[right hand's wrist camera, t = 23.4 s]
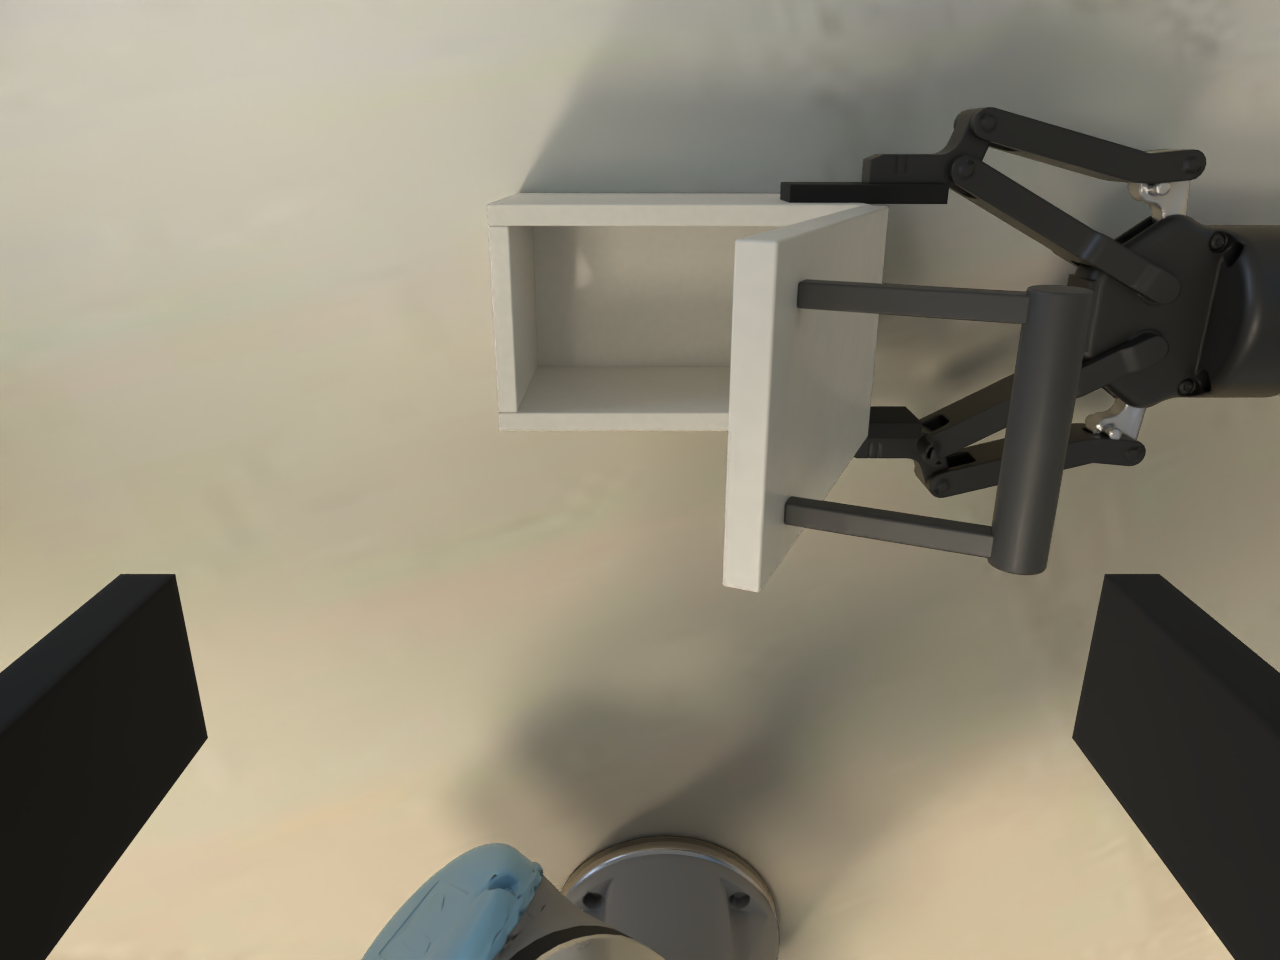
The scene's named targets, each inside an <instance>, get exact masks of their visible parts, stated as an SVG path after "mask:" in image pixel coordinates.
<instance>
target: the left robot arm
mask: <svg viewBox="0 0 1280 960" xmlns="http://www.w3.org/2000/svg"><path fill="white" fill-rule="evenodd" d="M988 147H991V148H994V149H998V150H1001V151H1005V152H1008V153H1012V154H1015V155H1019V156H1022V157H1026V158H1029V159H1033V160H1036V161H1040V162H1043V163H1047V164H1050V165H1053V166H1057V167H1060V168H1064V169H1067V170H1071V171H1074V172H1078V173H1081V174H1085V175H1088V176H1092V177H1095V178H1099V179H1103V180H1108V181H1117V182H1129V184H1128V190H1129V193H1130V195H1131V197H1132V198H1133V199H1135V200H1137V201H1142V202H1145V203H1147V204H1148V205H1149V206H1150V209H1151V216H1150V217H1148V218H1146V219H1145V220H1143V221H1142V222H1140V223H1138V224H1137V225H1135V226H1134V227H1132V228H1131V229H1129V230H1128V231H1126V232H1125V233H1123V234H1122V235H1120V236H1119V237H1117V238H1116V239H1114V240H1113V239H1111V238H1110V237H1108V236H1106V235H1104V234H1101V233H1099V232H1097V231H1095V230H1093V229H1091V228H1090V227H1088V226H1086V225H1085V224H1083V223H1081V222H1080V221H1078V220H1077V219H1075V218H1073V217H1072V216H1070V215H1068V214H1067V213H1065V212H1064V211H1062V210H1060V209H1059V208H1057V207H1055V206H1054V205H1052V204H1051V203H1049V202H1047V201H1046V200H1044V199H1042V198H1041V197H1039V196H1038V195H1036V194H1034V193H1033V192H1031V191H1029V190H1028V189H1026V188H1025V187H1023V186H1021V185H1020V184H1018V183H1016V182H1015V181H1013V180H1012V179H1010V178H1008V177H1007V176H1005V175H1003V174H1002V173H1000V172H999V171H997V170H995V169H994V168H992V167H990V166H989V165H987V164H986V163H984V162H982V160H983V158H984V155H985V153H986V151H987V149H988ZM1205 166H1206V157H1205V156H1204V154H1203V153H1202V152H1201V151H1199V150H1177V149H1160V150H1150V151H1140V150H1137V149H1134V148H1130V147H1127V146H1123V145H1120V144H1117V143H1113V142H1110V141H1106V140H1103V139H1099V138H1096V137H1093V136H1089V135H1086V134H1082V133H1079V132H1075V131H1072V130H1069V129H1065V128H1062V127H1058V126H1055V125H1052V124H1048V123H1045V122H1041V121H1038V120H1034V119H1031V118H1028V117H1024V116H1021V115H1017V114H1014V113H1010V112H1007V111H1004V110H1000V109H997V108H991V107H987V108H978V109H969V110H965V111H963V112H961V113H960V114H959V115H958V116H957V118H956V119H955V122H954V131H953V134H952V136H951V138H950V140H949V142H948V144H947V146H946V147H945V148H944V149H943V150H941V151H940V152H938V153H935V154H875V155H873V156H870V157H868V158H865V159H863V171H862V182H781V190H780V200H783V201H786V202H789V203H865V204H947V200H948V191H949V188H950V189H952V190H953V191H955V192H956V193H958V194H960V195H961V196H963V197H965V198H966V199H968V200H970V201H971V202H973V203H975V204H976V205H978V206H980V207H981V208H983V209H985V210H986V211H988V212H990V213H991V214H993V215H995V216H996V217H998V218H999V219H1001V220H1003V221H1004V222H1006V223H1008V224H1009V225H1011V226H1013V227H1014V228H1016V229H1018V230H1019V231H1021V232H1023V233H1024V234H1026V235H1028V236H1029V237H1031V238H1033V239H1034V240H1036V241H1038V242H1039V243H1041V244H1042V245H1044V246H1046V247H1047V248H1049V249H1051V250H1052V251H1053V252H1054V253H1055V254H1056V255H1058V256H1060V257H1061V258H1063V259H1064V260H1066V261H1068V262H1069V263H1071V264H1073V265H1074V266H1076V267H1078V268H1077V270H1076V272H1075V274H1069V278H1068V284H1067V286H1074V287H1081V288H1086V289H1090V290H1092V291H1093V292H1094V297H1093V303H1092V309H1091V314H1090V320H1089V326H1088V331H1087V337H1086V343H1085V349H1084V354H1083V360H1082V366H1081V371H1080V377H1079V383H1078V389H1077V394H1076V398H1079V397H1082V396H1084V395H1086V394H1088V393H1090V392H1093V391H1095V390H1097V389H1099V388H1101V387H1102V388H1103V389H1104V390H1105V391H1107V392H1108V393H1109V394H1110V395H1112V396H1113V397H1114V398H1116V400H1115V403H1114V405H1113V406H1112V407H1111V408H1110V409H1108V410H1107V411H1104V412H1099V413H1095V414H1091V415H1089V416H1087V417H1086V419H1085V423H1086V424H1082V423H1074V424H1071V429H1070V434H1069V440H1068V446H1067V451H1066V457H1065V463H1064V469H1068V468H1073V467H1077V466H1081V465H1086V464H1090V463H1101V464H1112V465H1123V466H1134V465H1136V464H1138V463H1140V462H1141V461H1142V460H1143V458H1144V456H1145V452H1146V450H1145V447H1144V445H1143V444H1142V443H1141V442H1139V441H1137V436H1138V433H1139V430H1140V426H1141V423H1142V420H1143V416H1144V413H1145V410H1146V408H1147V407H1151V406H1154V405H1156V404H1158V403H1160V402H1162V401H1164V400H1167V399H1170V398H1175V397H1271V396H1275V395H1279V396H1280V225H1202V224H1200V223H1198V222H1196V221H1195V220H1193V219H1192V218H1190V217H1188V216H1186V211H1187V202H1188V193H1189V184H1190V180H1193V179H1196V178H1197V177H1199V176H1200V175H1201V174H1202V172H1203V171H1204V169H1205ZM1014 374H1015V373H1014ZM1014 374H1012V375H1010V376H1008V377H1006V378H1004V379H1002V380H1000V381H998V382H996V383H994V384H992V385H990V386H987V387H985V388H983V389H981V390H979V391H977V392H975V393H973V394H971V395H969V396H967V397H965V398H963V399H961V400H959V401H957V402H955V403H953V404H951V405H949V406H947V407H944V408H942V409H940V410H938V411H936V412H934V413H932V414H930V415H928V416H926V417H924V418H922V419H920V420H919V419H918V418H917V417H916V416H914V415H913V414H912V413H911V412H910V411H909V410H908V409H907V408H906V407H870V416H869V427H868V436H867V438H866V439H865V441H864V442H863V443H862V445H861V446H860V448H859V449H858V451H857V452H856V454H855V455H854V456H853V457H855V458H910V459H913V461H914V464H915V470H914V472H915V474H916V476H917V477H918V478H919V480H920V481H921V482H922V483H923V484H924V485H925V487H926V488H927V489H928V490H929V491H930V493H931V494H932V495H933V496H935V497H938V498H944V497H949V496H953V495H957V494H962V493H966V492H970V491H974V490H979V489H983V488H987V487H991V486H996V485H998V481H999V474H1000V468H1001V461H1002V454H1003V448H1004V441H1005V438H1004V439H1000V440H995V441H991V442H987V443H983V444H979V445H974V446H970V447H966V446H968V445H971V444H973V443H975V442H977V441H979V440H981V439H983V438H985V437H987V436H989V435H991V434H993V433H996V432H998V431H1000V430H1002V429H1004V428H1006V427H1007V421H1008V414H1009V407H1010V401H1011V394H1012V387H1013V381H1014ZM964 447H966V448H964ZM1064 469H1063V470H1064ZM778 952H779V929H778V922H777V917H776V911H775V906H774V902H773V899H772V897H771V894H770V892H769V890H768V888H767V886H766V884H765V883H764V881H763V880H762V878H761V877H760V876H759V875H758V874H757V872H756V871H755V870H754V869H753V868H752V867H751V866H750V865H748V864H747V863H746V862H745V861H743V860H742V859H741V858H739V857H738V856H736V855H735V854H733V853H731V852H730V851H728V850H726V849H723V848H721V847H719V846H716V845H714V844H711V843H708V842H705V841H701V840H697V839H692V838H686V837H678V836H654V837H645V838H639V839H634V840H630V841H627V842H623V843H620V844H617V845H615V846H612V847H610V848H608V849H606V850H604V851H602V852H600V853H598V854H596V855H595V856H593V857H592V858H590V859H589V860H588V861H586V862H585V863H584V864H582V865H581V866H580V867H579V868H578V869H577V870H576V871H575V872H574V873H573V874H572V875H571V876H570V878H569V879H568V881H567V882H566V883H565V885H564V887H563V888H562V890H561V892H560V891H558V890H557V889H556V887H555V886H554V885H553V884H552V883H551V882H550V881H549V880H548V879H547V878H546V877H545V876H544V875H543V868H542V867H541V866H540V865H539V864H538V863H536V862H531V861H530V860H529V859H527V858H526V857H525V856H524V855H522V854H521V853H520V852H519V851H518V850H516V849H515V848H513V847H512V846H509V845H507V844H501V843H491V844H486V845H482V846H479V847H476V848H474V849H472V850H470V851H468V852H466V853H464V854H462V855H460V856H459V857H457V858H456V859H454V860H453V861H451V862H450V863H449V864H447V865H446V866H445V867H444V868H442V869H441V870H439V871H438V872H437V873H436V874H434V875H433V876H432V877H431V878H430V879H429V880H428V881H426V882H425V883H424V884H423V885H422V886H421V887H420V888H419V889H418V890H417V891H416V892H415V893H414V894H413V895H412V896H411V897H410V898H409V899H408V900H407V901H406V903H405V904H404V905H403V906H402V907H401V908H400V909H399V910H398V911H397V913H396V914H395V915H394V916H393V917H392V919H391V920H390V921H389V922H388V923H387V925H386V926H385V927H384V928H383V930H382V931H381V932H380V934H379V935H378V936H377V938H376V939H375V940H374V942H373V943H372V945H371V946H370V948H369V949H368V950H367V952H366V953H365V955H364V957H363V958H362V960H777V959H778Z"/></svg>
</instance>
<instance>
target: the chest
mask: <svg viewBox="0 0 1280 960" xmlns="http://www.w3.org/2000/svg"><path fill="white" fill-rule="evenodd" d="M862 205H869V204H865V203H789V202H786V201H783V200H780V193H517V194H514V195H511V196H509V197H506V198H503V199H501V200H498V201H495V202H492V203H490V204H487V218H488V225H489V227H488V234H489V252H490V270H491V288H492V306H493V324H494V342H495V360H496V379H497V397H498V411H499V414H498V416H499V430H500V431H728V421H729V394H730V367H731V340H732V313H733V286H734V259H735V241H736V240H737V239H740V238H744V237H747V236H751V235H755V234H758V233H762V232H766V231H769V230H773V229H777V228H781V227H784V226H788V225H792V224H795V223H799V222H803V221H806V220H810V219H814V218H818V217H821V216H825V215H829V214H832V213H836V212H840V211H843V210H847V209H851V208H855V207H858V206H862Z"/></svg>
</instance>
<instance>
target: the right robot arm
mask: <svg viewBox="0 0 1280 960" xmlns="http://www.w3.org/2000/svg"><path fill="white" fill-rule="evenodd" d="M207 738H208V736H207V731H206V726H205V721H204V716H203V711H202V706H201V701H200V696H199V691H198V686H197V681H196V676H195V671H194V666H193V661H192V656H191V651H190V646H189V641H188V636H187V631H186V626H185V621H184V616H183V611H182V606H181V601H180V596H179V591H178V586H177V581H176V576H175V574H120V575H119V576H118V577H117V578H116V579H114V580H113V581H112V582H111V583H109V584H108V585H107V586H106V587H105V588H103V589H102V590H101V591H100V592H98V593H97V594H96V595H95V596H94V597H92V598H91V599H90V600H89V601H87V602H86V603H85V604H84V605H83V606H81V607H80V608H79V609H78V610H77V611H75V612H74V613H73V614H72V615H70V616H69V617H68V618H67V619H66V620H64V621H63V622H62V623H61V624H59V625H58V626H57V627H56V628H55V629H53V630H52V631H51V632H50V633H48V634H47V635H46V636H45V637H44V638H42V639H41V640H40V641H39V642H37V643H36V644H35V645H34V646H33V647H31V648H30V649H29V650H28V651H27V652H25V653H24V654H23V655H22V656H20V657H19V658H18V659H17V660H16V661H14V662H13V663H12V664H11V665H9V666H8V667H7V668H6V669H5V670H3V671H2V672H1V673H0V960H45V959H46V958H47V956H48V955H49V954H50V952H51V951H52V950H53V948H54V947H55V946H56V944H57V943H58V941H59V940H60V939H61V937H62V936H63V935H64V933H65V932H66V931H67V929H68V928H69V926H70V925H71V924H72V922H73V921H74V920H75V918H76V917H77V916H78V914H79V913H80V911H81V910H82V909H83V907H84V906H85V905H86V903H87V902H88V901H89V899H90V898H91V896H92V895H93V894H94V892H95V891H96V890H97V888H98V887H99V886H100V884H101V883H102V881H103V880H104V879H105V877H106V876H107V875H108V873H109V872H110V871H111V869H112V868H113V866H114V865H115V864H116V862H117V861H118V860H119V858H120V857H121V856H122V854H123V853H124V851H125V850H126V849H127V847H128V846H129V845H130V843H131V842H132V841H133V839H134V838H135V836H136V835H137V834H138V832H139V831H140V830H141V828H142V827H143V826H144V824H145V823H146V821H147V820H148V819H149V817H150V816H151V815H152V813H153V812H154V811H155V809H156V808H157V806H158V805H159V804H160V802H161V801H162V800H163V798H164V797H165V796H166V794H167V793H168V791H169V790H170V789H171V787H172V786H173V785H174V783H175V782H176V780H177V779H178V778H179V776H180V775H181V774H182V772H183V771H184V770H185V768H186V767H187V765H188V764H189V763H190V761H191V760H192V759H193V757H194V756H195V755H196V753H197V752H198V750H199V749H200V748H201V746H202V745H203V744H204V742H205V741H206V740H207ZM1072 738H1073V740H1074V741H1075V742H1076V744H1077V745H1078V746H1079V748H1080V749H1081V750H1082V752H1083V753H1084V755H1085V756H1086V757H1087V759H1088V760H1089V761H1090V763H1091V764H1092V765H1093V767H1094V768H1095V770H1096V771H1097V772H1098V774H1099V775H1100V776H1101V778H1102V779H1103V781H1104V782H1105V783H1106V785H1107V786H1108V787H1109V789H1110V790H1111V791H1112V793H1113V794H1114V796H1115V797H1116V798H1117V800H1118V801H1119V802H1120V804H1121V805H1122V806H1123V808H1124V809H1125V811H1126V812H1127V813H1128V815H1129V816H1130V817H1131V819H1132V820H1133V821H1134V823H1135V824H1136V826H1137V827H1138V828H1139V830H1140V831H1141V832H1142V834H1143V835H1144V836H1145V838H1146V839H1147V841H1148V842H1149V843H1150V845H1151V846H1152V847H1153V849H1154V850H1155V851H1156V853H1157V854H1158V856H1159V857H1160V858H1161V860H1162V861H1163V862H1164V864H1165V865H1166V866H1167V868H1168V869H1169V871H1170V872H1171V873H1172V875H1173V876H1174V877H1175V879H1176V880H1177V881H1178V883H1179V884H1180V886H1181V887H1182V888H1183V890H1184V891H1185V892H1186V894H1187V895H1188V896H1189V898H1190V899H1191V901H1192V902H1193V903H1194V905H1195V906H1196V907H1197V909H1198V910H1199V911H1200V913H1201V914H1202V916H1203V917H1204V918H1205V920H1206V921H1207V922H1208V924H1209V925H1210V926H1211V928H1212V929H1213V931H1214V932H1215V933H1216V935H1217V936H1218V937H1219V939H1220V940H1221V941H1222V943H1223V944H1224V946H1225V947H1226V948H1227V950H1228V951H1229V952H1230V954H1231V955H1232V956H1233V958H1234V959H1235V960H1280V673H1279V672H1278V671H1277V670H1275V669H1274V668H1273V667H1272V666H1271V665H1269V664H1268V663H1267V662H1266V661H1264V660H1263V659H1262V658H1261V657H1260V656H1258V655H1257V654H1256V653H1255V652H1253V651H1252V650H1251V649H1250V648H1249V647H1247V646H1246V645H1245V644H1244V643H1243V642H1241V641H1240V640H1239V639H1238V638H1236V637H1235V636H1234V635H1233V634H1232V633H1230V632H1229V631H1228V630H1227V629H1225V628H1224V627H1223V626H1222V625H1221V624H1219V623H1218V622H1217V621H1216V620H1214V619H1213V618H1212V617H1211V616H1210V615H1208V614H1207V613H1206V612H1205V611H1203V610H1202V609H1201V608H1200V607H1199V606H1197V605H1196V604H1195V603H1194V602H1193V601H1191V600H1190V599H1189V598H1188V597H1186V596H1185V595H1184V594H1183V593H1182V592H1180V591H1179V590H1178V589H1177V588H1175V587H1174V586H1173V585H1172V584H1171V583H1169V582H1168V581H1167V580H1166V579H1164V578H1163V577H1162V576H1161V575H1160V574H1105V576H1104V581H1103V586H1102V591H1101V596H1100V601H1099V606H1098V611H1097V616H1096V621H1095V626H1094V631H1093V636H1092V641H1091V646H1090V651H1089V656H1088V661H1087V666H1086V671H1085V676H1084V681H1083V686H1082V691H1081V696H1080V701H1079V706H1078V711H1077V716H1076V721H1075V726H1074V731H1073V736H1072Z"/></svg>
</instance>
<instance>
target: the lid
mask: <svg viewBox="0 0 1280 960" xmlns="http://www.w3.org/2000/svg"><path fill="white" fill-rule="evenodd" d="M888 213H889V207H888V206H871V205H862V206H858V207H855V208H851V209H847V210H843V211H840V212H836V213H832V214H829V215H825V216H821V217H818V218H814V219H810V220H806V221H803V222H799V223H795V224H792V225H788V226H784V227H781V228H777V229H773V230H769V231H766V232H762V233H758V234H755V235H751V236H747V237H744V238H740V239H737V240H736V241H735V259H734V286H733V313H732V340H731V367H730V394H729V421H728V448H727V475H726V502H725V529H724V556H723V585H724V586H727V587H732V588H737V589H742V590H747V591H752V592H760V590H761V589H762V588H763V586H764V585H765V583H766V582H767V580H768V579H769V578H770V576H771V575H772V573H773V572H774V570H775V569H776V567H777V566H778V565H779V563H780V562H781V560H782V559H783V557H784V556H785V554H786V553H787V552H788V550H789V549H790V547H791V546H792V544H793V543H794V541H795V540H796V539H797V537H798V536H799V534H800V533H801V531H802V530H803V529H804V528H810V529H816V530H822V531H828V532H834V533H840V534H846V535H852V536H858V537H864V538H870V539H876V540H882V541H889V542H895V543H901V544H907V545H913V546H919V547H925V548H931V549H937V550H943V551H949V552H955V553H961V554H967V555H973V556H979V557H985V558H987V559H988V562H989V563H990V564H991V565H992V566H993V567H995V568H997V569H999V570H1002V571H1005V572H1008V573H1012V574H1018V575H1035V574H1039V573H1042V572H1043V571H1044V570H1045V569H1046V566H1047V560H1048V554H1049V549H1050V543H1051V537H1052V531H1053V526H1054V520H1055V514H1056V509H1057V503H1058V497H1059V491H1060V486H1061V480H1062V474H1063V469H1064V463H1065V457H1066V451H1067V446H1068V440H1069V434H1070V429H1071V423H1072V417H1073V411H1074V406H1075V400H1076V394H1077V389H1078V383H1079V377H1080V371H1081V366H1082V360H1083V354H1084V349H1085V343H1086V337H1087V331H1088V326H1089V320H1090V314H1091V309H1092V303H1093V297H1094V292H1093V291H1092V290H1090V289H1086V288H1081V287H1074V286H1061V285H1037V286H1031V287H1029V288H1028V289H1027V292H1021V291H1003V290H986V289H968V288H951V287H934V286H916V285H899V284H882V277H883V267H884V256H885V245H886V235H887V224H888ZM879 314H886V315H901V316H915V317H929V318H943V319H958V320H972V321H986V322H1000V323H1014V324H1022V327H1021V334H1020V340H1019V347H1018V354H1017V360H1016V367H1015V374H1014V381H1013V387H1012V394H1011V401H1010V407H1009V414H1008V421H1007V427H1006V434H1005V441H1004V448H1003V454H1002V461H1001V468H1000V474H999V481H998V488H997V495H996V501H995V508H994V515H993V521H992V527H991V526H985V525H978V524H972V523H965V522H959V521H952V520H946V519H939V518H932V517H926V516H919V515H913V514H906V513H900V512H893V511H886V510H880V509H873V508H867V507H860V506H854V505H847V504H841V503H834V502H827V501H823V500H824V498H825V497H826V495H827V494H828V492H829V491H830V490H831V488H832V487H833V485H834V484H835V482H836V481H837V480H838V478H839V477H840V475H841V474H842V472H843V471H844V469H845V468H846V467H847V465H848V464H849V462H850V461H851V459H852V458H853V456H854V455H855V454H856V452H857V451H858V449H859V448H860V446H861V445H862V443H863V442H864V441H865V439H866V438H867V436H868V427H869V416H870V406H871V395H872V384H873V374H874V363H875V352H876V342H877V331H878V320H879Z"/></svg>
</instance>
